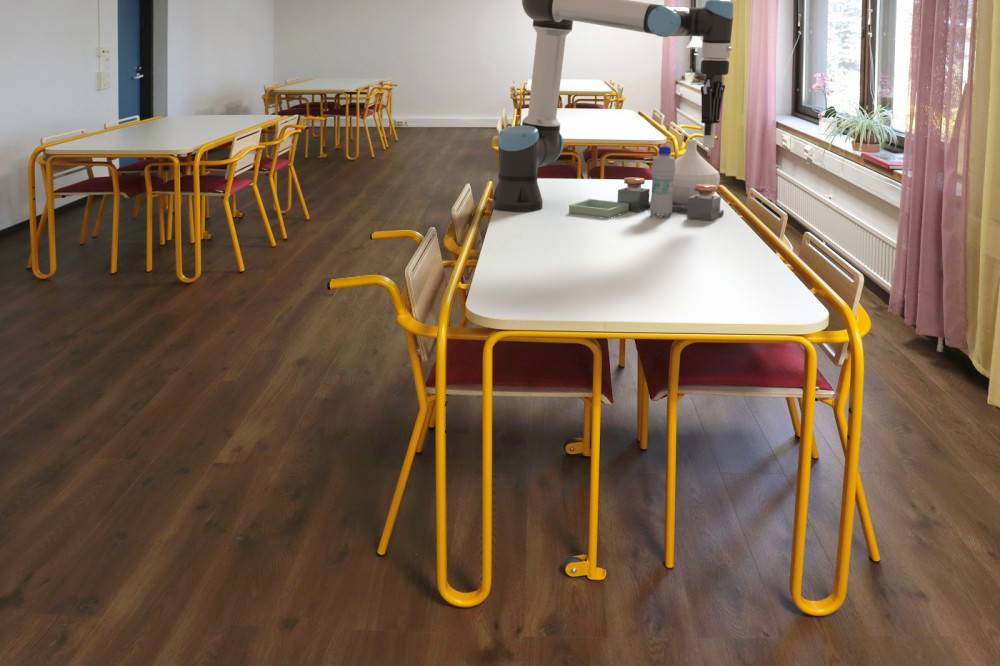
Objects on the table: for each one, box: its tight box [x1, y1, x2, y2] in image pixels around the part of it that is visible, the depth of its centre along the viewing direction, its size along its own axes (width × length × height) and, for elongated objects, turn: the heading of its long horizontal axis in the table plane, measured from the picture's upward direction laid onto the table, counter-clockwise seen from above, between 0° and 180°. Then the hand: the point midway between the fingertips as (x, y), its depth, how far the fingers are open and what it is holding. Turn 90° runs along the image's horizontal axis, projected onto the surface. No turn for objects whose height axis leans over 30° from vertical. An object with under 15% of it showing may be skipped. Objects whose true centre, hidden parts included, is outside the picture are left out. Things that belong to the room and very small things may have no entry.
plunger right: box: [695, 184, 717, 199], centre depth 277 cm, size 6×6×8 cm
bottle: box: [649, 145, 676, 219], centre depth 277 cm, size 7×7×20 cm
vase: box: [672, 139, 721, 206], centre depth 299 cm, size 18×18×19 cm
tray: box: [568, 198, 629, 219], centre depth 284 cm, size 13×13×2 cm
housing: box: [617, 186, 724, 222], centre depth 285 cm, size 29×10×6 cm, turn 58°
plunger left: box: [623, 177, 646, 191], centre depth 288 cm, size 6×6×8 cm
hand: (708, 146), depth 273 cm, fingers closed
